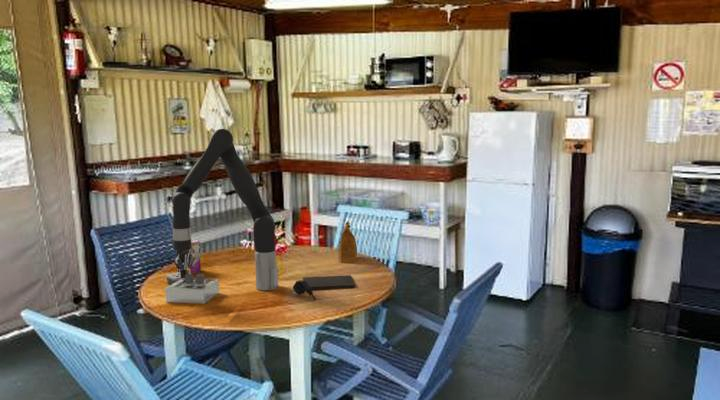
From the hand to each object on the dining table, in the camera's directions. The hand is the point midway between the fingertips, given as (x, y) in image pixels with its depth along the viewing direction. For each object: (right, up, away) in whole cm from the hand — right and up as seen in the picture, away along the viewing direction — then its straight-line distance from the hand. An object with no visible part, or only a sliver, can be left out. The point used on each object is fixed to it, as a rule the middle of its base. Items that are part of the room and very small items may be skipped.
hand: (183, 277), depth 236 cm
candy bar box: (-9, -3, +36) cm, 37 cm away
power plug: (+56, -10, -5) cm, 58 cm away
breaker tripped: (0, -1, +3) cm, 4 cm away
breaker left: (+9, -2, -6) cm, 11 cm away
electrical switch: (-6, -6, +17) cm, 19 cm away
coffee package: (+70, 0, +53) cm, 88 cm away
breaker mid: (+4, -2, -5) cm, 7 cm away
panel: (+5, -8, -2) cm, 9 cm away
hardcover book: (+62, -6, +15) cm, 64 cm away
